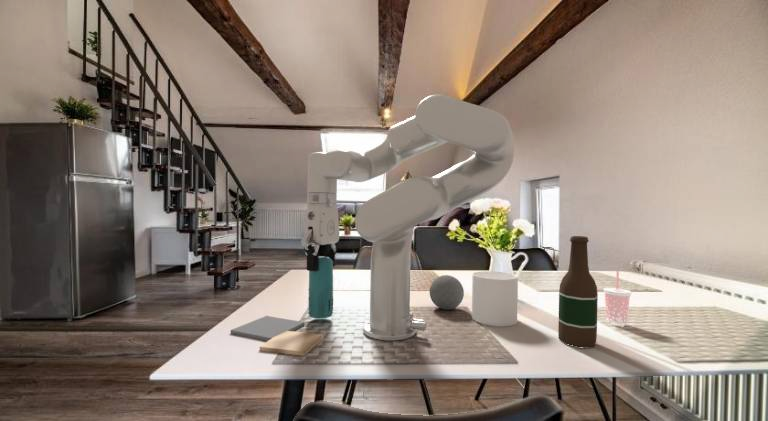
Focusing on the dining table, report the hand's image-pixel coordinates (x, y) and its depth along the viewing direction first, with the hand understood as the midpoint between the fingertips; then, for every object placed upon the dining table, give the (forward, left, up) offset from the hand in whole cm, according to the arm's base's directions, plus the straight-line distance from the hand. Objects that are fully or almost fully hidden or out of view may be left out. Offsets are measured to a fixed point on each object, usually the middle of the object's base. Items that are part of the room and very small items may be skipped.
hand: (321, 267), depth 93 cm
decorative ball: (-28, -25, -14) cm, 40 cm away
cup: (-42, -21, -14) cm, 49 cm away
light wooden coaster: (-4, +16, -14) cm, 21 cm away
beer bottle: (-61, -12, -14) cm, 63 cm away
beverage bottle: (0, 0, -14) cm, 14 cm away
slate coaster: (+7, +11, -14) cm, 19 cm away
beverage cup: (-72, -31, -14) cm, 79 cm away
